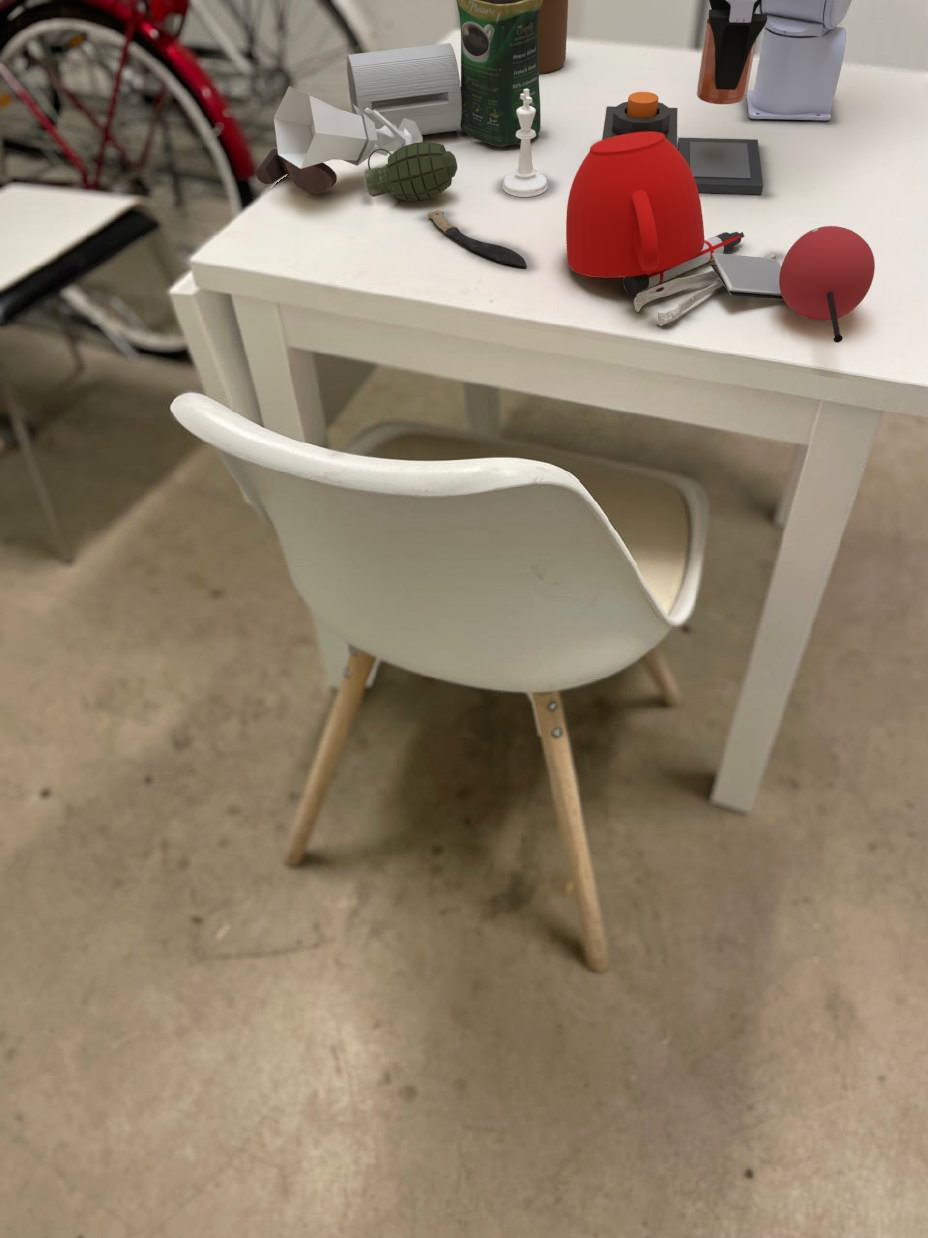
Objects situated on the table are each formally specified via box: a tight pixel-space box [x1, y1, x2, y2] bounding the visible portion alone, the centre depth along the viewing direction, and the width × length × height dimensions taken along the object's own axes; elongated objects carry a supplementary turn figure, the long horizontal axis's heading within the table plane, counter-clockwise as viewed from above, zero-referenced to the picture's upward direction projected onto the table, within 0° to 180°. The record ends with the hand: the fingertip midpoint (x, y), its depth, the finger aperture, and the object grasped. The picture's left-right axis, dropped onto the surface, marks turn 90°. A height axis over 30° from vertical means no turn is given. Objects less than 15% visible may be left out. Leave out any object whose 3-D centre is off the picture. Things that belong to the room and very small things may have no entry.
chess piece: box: [502, 89, 548, 198], centre depth 101 cm, size 5×5×10 cm
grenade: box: [364, 141, 458, 202], centre depth 103 cm, size 6×7×10 cm
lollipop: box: [779, 225, 876, 344], centre depth 80 cm, size 8×8×15 cm
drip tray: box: [677, 137, 764, 195], centre depth 106 cm, size 9×12×1 cm
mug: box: [538, 0, 569, 74], centre depth 125 cm, size 12×8×9 cm, turn 125°
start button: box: [627, 91, 659, 118], centre depth 102 cm, size 3×3×2 cm
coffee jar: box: [455, 0, 543, 147], centre depth 108 cm, size 10×8×19 cm
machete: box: [427, 210, 527, 269], centre depth 97 cm, size 15×3×1 cm, turn 40°
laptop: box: [710, 253, 784, 301], centre depth 87 cm, size 7×6×2 cm
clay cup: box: [696, 17, 757, 105], centre depth 99 cm, size 5×5×7 cm
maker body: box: [601, 101, 678, 149], centre depth 105 cm, size 8×12×6 cm, turn 171°
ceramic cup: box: [565, 132, 705, 279], centre depth 87 cm, size 13×17×10 cm
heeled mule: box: [255, 148, 338, 195], centre depth 106 cm, size 4×11×4 cm
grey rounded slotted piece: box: [346, 42, 462, 136], centre depth 112 cm, size 9×9×12 cm
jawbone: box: [633, 252, 778, 327], centre depth 89 cm, size 17×5×2 cm, turn 127°
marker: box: [622, 231, 745, 296], centre depth 91 cm, size 15×2×2 cm
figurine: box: [273, 85, 424, 169], centre depth 104 cm, size 7×8×18 cm
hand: (725, 77), depth 101 cm, fingers closed on clay cup, 5 cm apart
